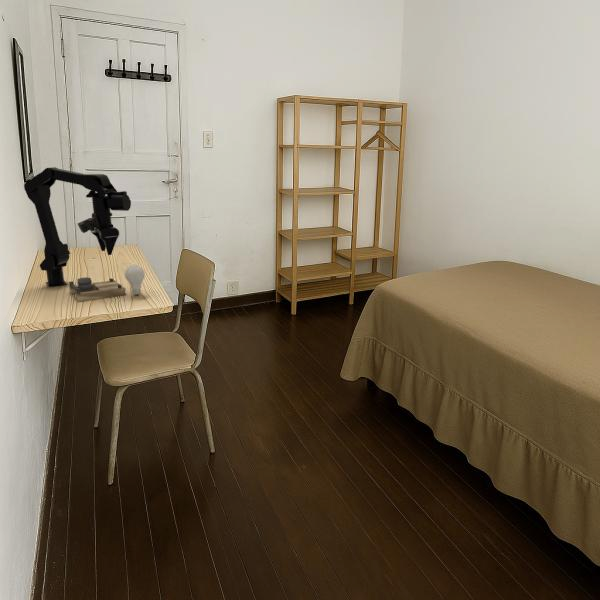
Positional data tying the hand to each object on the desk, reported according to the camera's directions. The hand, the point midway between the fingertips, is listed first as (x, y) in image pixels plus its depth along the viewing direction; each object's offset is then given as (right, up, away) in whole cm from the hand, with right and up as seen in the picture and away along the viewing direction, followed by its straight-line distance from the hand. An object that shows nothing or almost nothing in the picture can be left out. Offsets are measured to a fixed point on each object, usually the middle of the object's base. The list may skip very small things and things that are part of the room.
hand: (106, 252), depth 194 cm
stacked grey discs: (-5, -16, -7) cm, 18 cm away
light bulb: (+13, -16, -7) cm, 22 cm away
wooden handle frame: (-1, -15, -5) cm, 16 cm away
